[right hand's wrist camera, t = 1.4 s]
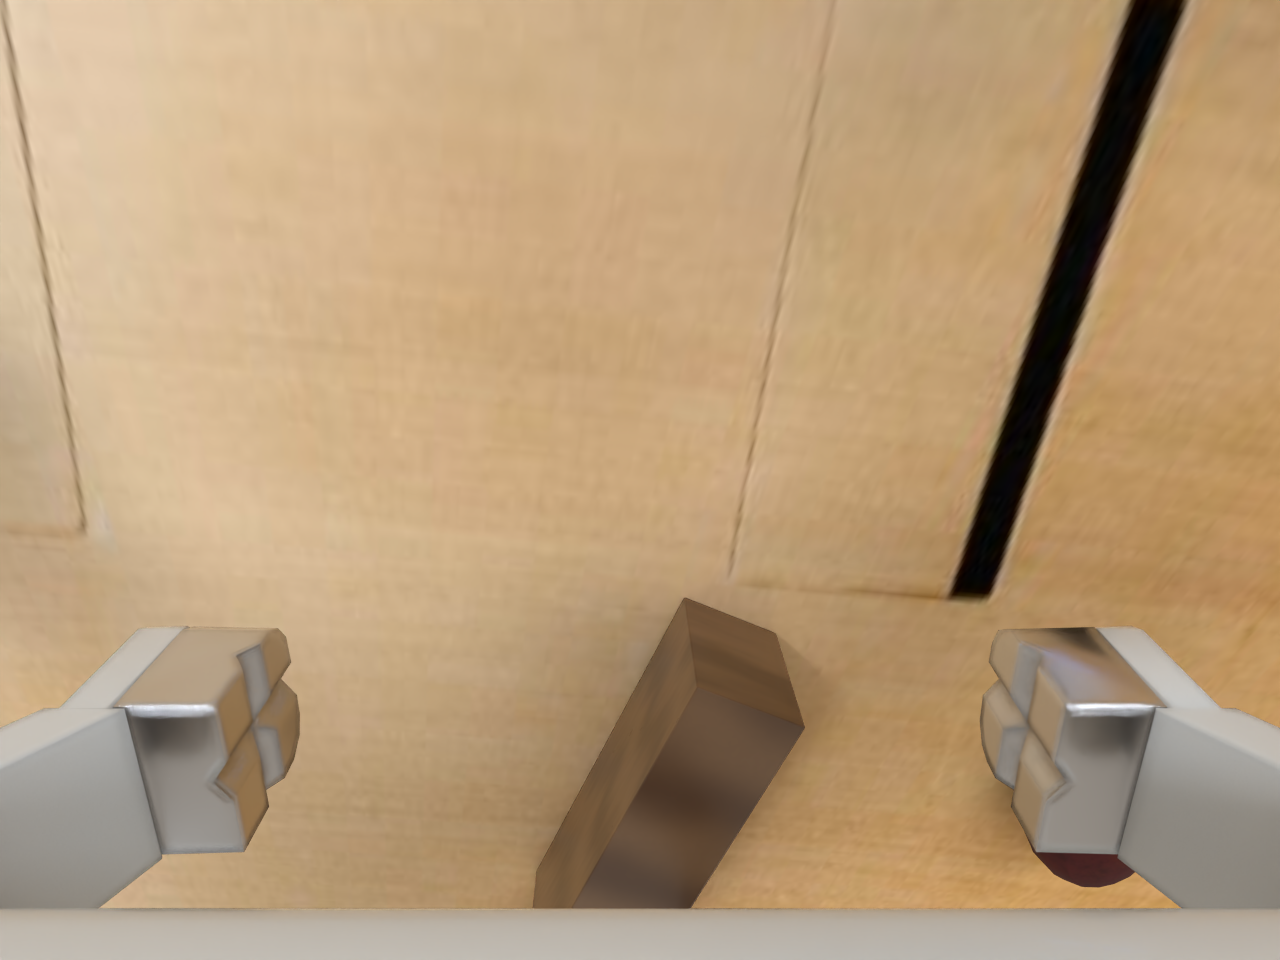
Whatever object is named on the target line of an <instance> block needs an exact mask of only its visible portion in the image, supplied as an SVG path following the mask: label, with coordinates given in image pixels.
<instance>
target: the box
mask: <svg viewBox="0 0 1280 960" xmlns="http://www.w3.org/2000/svg"><path fill="white" fill-rule="evenodd" d="M804 728H805V726H804V723H803V720H802V717H801V713H800V710H799V707H798V704H797V700H796V697H795V694H794V691H793V687H792V684H791V681H790V678H789V675H788V671H787V668H786V665H785V662H784V658H783V655H782V652H781V649H780V645H779V642H778V639H777V636H776V634H775V633H773V632H771V631H768V630H765V629H763V628H760V627H758V626H755V625H753V624H750V623H748V622H745V621H743V620H740V619H738V618H735V617H733V616H730V615H727V614H725V613H722V612H720V611H717V610H715V609H712V608H710V607H707V606H705V605H702V604H700V603H697V602H694V601H692V600H689V599H687V598H684V600H683V601H682V603H681V605H680V607H679V609H678V611H677V612H676V614H675V616H674V618H673V620H672V622H671V624H670V625H669V627H668V629H667V631H666V633H665V635H664V637H663V638H662V640H661V642H660V644H659V646H658V648H657V649H656V651H655V653H654V655H653V657H652V659H651V661H650V662H649V664H648V666H647V668H646V670H645V672H644V674H643V675H642V677H641V679H640V681H639V683H638V685H637V687H636V688H635V690H634V692H633V694H632V696H631V698H630V699H629V701H628V703H627V705H626V707H625V709H624V711H623V712H622V714H621V716H620V718H619V720H618V722H617V724H616V725H615V727H614V729H613V731H612V733H611V735H610V736H609V738H608V740H607V742H606V744H605V746H604V748H603V749H602V751H601V753H600V755H599V757H598V759H597V761H596V762H595V764H594V766H593V768H592V770H591V772H590V773H589V775H588V777H587V779H586V781H585V783H584V785H583V786H582V788H581V790H580V792H579V794H578V796H577V798H576V799H575V801H574V803H573V805H572V807H571V809H570V810H569V812H568V814H567V816H566V818H565V820H564V822H563V823H562V825H561V827H560V829H559V831H558V833H557V835H556V836H555V838H554V840H553V842H552V844H551V846H550V847H549V849H548V851H547V853H546V855H545V857H544V859H543V860H542V862H541V864H540V866H539V868H538V870H537V872H536V881H535V891H534V900H533V909H690V908H691V907H692V905H693V904H694V902H695V901H696V899H697V897H698V896H699V894H700V893H701V891H702V889H703V888H704V886H705V885H706V883H707V882H708V880H709V878H710V877H711V875H712V874H713V872H714V871H715V869H716V867H717V866H718V864H719V863H720V861H721V860H722V858H723V856H724V855H725V853H726V852H727V850H728V848H729V847H730V845H731V844H732V842H733V841H734V839H735V837H736V836H737V834H738V833H739V831H740V830H741V828H742V826H743V825H744V823H745V822H746V820H747V819H748V817H749V815H750V814H751V812H752V811H753V809H754V807H755V806H756V804H757V803H758V801H759V800H760V798H761V796H762V795H763V793H764V792H765V790H766V789H767V787H768V785H769V784H770V782H771V781H772V779H773V778H774V776H775V774H776V773H777V771H778V770H779V768H780V766H781V765H782V763H783V762H784V760H785V759H786V757H787V755H788V754H789V752H790V751H791V749H792V748H793V746H794V744H795V743H796V741H797V740H798V738H799V737H800V735H801V733H802V732H803V730H804Z"/></svg>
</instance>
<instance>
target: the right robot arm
mask: <svg viewBox="0 0 1280 960" xmlns="http://www.w3.org/2000/svg"><path fill="white" fill-rule="evenodd" d="M290 663H291V659H290V654H289V649H288V644H287V640H286V636H285V635H284V634H283V633H282V632H281V631H280V630H279V629H278V628H231V627H191V628H190V627H188V626H164V627H146V628H141V629H138V630H137V631H136V632H135V633H134V634H133V635H132V636H131V637H130V638H129V639H128V640H127V641H126V642H125V643H124V644H123V645H122V646H121V647H120V648H119V649H118V650H117V651H116V652H115V653H114V654H113V655H112V656H111V657H110V658H109V659H108V660H107V661H106V662H105V663H104V664H103V665H102V666H101V667H100V668H99V669H98V670H97V671H96V672H95V673H94V674H93V675H92V676H91V677H90V678H89V679H88V680H87V681H86V682H85V683H84V684H83V685H82V686H81V687H80V688H79V689H78V690H77V691H76V692H75V693H74V694H73V695H72V696H71V697H70V698H69V699H68V700H67V701H66V702H65V703H64V704H63V705H62V706H61V707H60V708H44V709H42V710H40V711H37V712H35V713H33V714H31V715H28V716H26V717H24V718H21V719H19V720H17V721H15V722H12V723H10V724H8V725H6V726H3V727H1V728H0V960H1280V728H1279V727H1277V726H1274V725H1272V724H1270V723H1268V722H1265V721H1263V720H1261V719H1259V718H1256V717H1254V716H1252V715H1249V714H1247V713H1245V712H1243V711H1240V710H1238V709H1236V708H1220V707H1219V706H1218V705H1217V704H1216V703H1215V702H1214V701H1213V700H1212V699H1211V698H1210V697H1209V696H1208V695H1207V694H1206V693H1205V692H1204V691H1203V690H1202V689H1201V688H1200V687H1199V686H1198V685H1197V684H1196V683H1195V682H1194V681H1193V680H1192V679H1191V678H1190V677H1189V676H1188V675H1187V674H1186V673H1185V672H1184V671H1183V670H1182V669H1181V668H1180V667H1179V666H1178V665H1177V664H1176V663H1175V662H1174V661H1173V660H1172V659H1171V658H1170V657H1169V656H1168V655H1167V654H1166V653H1165V652H1164V651H1163V650H1162V649H1161V648H1160V647H1159V646H1158V645H1157V644H1156V643H1155V642H1154V641H1153V640H1152V639H1151V638H1150V637H1149V636H1148V635H1147V634H1146V633H1145V632H1144V631H1143V630H1142V629H1139V628H1136V627H1133V626H1112V627H1083V628H1042V629H1007V630H998V632H997V634H996V636H995V638H994V640H993V643H992V647H991V653H990V658H989V663H990V665H991V666H992V668H993V669H994V671H995V673H996V674H997V676H998V677H999V680H998V681H997V682H996V683H995V684H994V685H993V686H992V687H991V688H990V689H989V690H988V691H987V692H986V693H985V694H984V695H983V700H982V708H981V716H980V728H981V739H982V746H983V750H984V753H985V756H986V760H987V762H988V764H989V766H990V768H991V770H992V772H993V774H994V776H995V778H996V779H998V780H999V781H1001V782H1003V783H1004V784H1006V785H1007V786H1009V787H1010V788H1012V789H1013V790H1014V793H1013V798H1012V804H1011V808H1012V809H1013V811H1014V813H1015V815H1016V817H1017V818H1018V820H1019V822H1020V824H1021V826H1022V828H1023V829H1024V831H1025V833H1026V835H1027V837H1028V838H1029V840H1030V842H1031V844H1032V846H1033V847H1034V849H1035V851H1036V852H1052V853H1088V854H1118V859H1119V860H1121V861H1122V862H1123V863H1125V864H1126V865H1127V866H1128V867H1130V868H1131V869H1132V870H1134V871H1135V872H1136V873H1137V874H1139V875H1140V876H1141V877H1142V878H1144V879H1145V880H1146V881H1148V882H1149V883H1150V884H1151V885H1153V886H1154V887H1155V888H1157V889H1158V890H1159V891H1160V892H1162V893H1163V894H1164V895H1165V896H1167V897H1168V898H1169V899H1171V900H1172V901H1173V902H1174V903H1176V904H1177V905H1178V906H1180V907H1181V908H1175V909H1174V908H1172V909H1169V908H1168V909H237V908H236V909H235V908H233V909H232V908H99V907H101V906H102V905H103V904H105V903H106V902H107V901H108V900H110V899H111V898H112V897H114V896H115V895H116V894H117V893H119V892H120V891H121V890H122V889H124V888H125V887H126V886H128V885H129V884H130V883H131V882H133V881H134V880H135V879H137V878H138V877H139V876H140V875H142V874H143V873H144V872H146V871H147V870H148V869H149V868H151V867H152V866H153V865H154V864H156V863H157V862H158V861H160V860H161V859H162V854H191V853H226V852H244V851H245V849H246V848H247V846H248V844H249V842H250V840H251V839H252V837H253V835H254V833H255V831H256V829H257V828H258V826H259V824H260V822H261V820H262V818H263V817H264V815H265V813H266V811H267V809H268V808H269V804H268V798H267V793H266V790H267V789H268V788H270V787H271V786H273V785H274V784H276V783H277V782H279V781H281V780H282V779H284V778H285V776H286V774H287V772H288V770H289V768H290V766H291V764H292V762H293V760H294V757H295V752H296V748H297V744H298V739H299V735H300V712H299V706H298V700H297V695H296V694H295V693H294V692H293V691H292V690H291V689H290V688H289V687H288V686H287V685H286V684H285V683H284V682H283V681H282V680H281V677H282V676H283V674H284V673H285V671H286V669H287V668H288V666H289V665H290Z"/></svg>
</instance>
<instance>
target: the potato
mask: <svg viewBox="0 0 1280 960" xmlns="http://www.w3.org/2000/svg"><path fill="white" fill-rule="evenodd" d="M1025 834H1026V833H1025ZM1026 836H1027V835H1026ZM1027 838H1028V837H1027ZM1028 841H1029V843H1030V845H1031V848H1032V850H1033V852H1034V853H1035V854H1036V855H1037V857H1038V858H1039V859H1040V860H1041V861H1042V862H1043V863H1044V864H1045V865H1046V866H1047V867H1048V868H1049V869H1050V870H1051V871H1052V873H1053V874H1054V875H1056V876H1058V877H1060V878H1062V879H1064V880H1066V881H1069V882H1071V883H1074V884H1076V885H1079V886H1082V887H1103V886H1107V885H1111V884H1115V883H1117V882H1119V881H1121V880H1123V879H1126V878H1128V877H1129V876H1131V875H1132V874H1133V873H1134V872H1135V871H1134V870H1132V869H1131V868H1130V867H1128V866H1127V865H1126V864H1125V863H1123V862H1122V861H1121V860H1119V859H1118V854H1088V853H1052V852H1036V851H1035V849H1034V847H1033V846H1032V844H1031V842H1030V840H1029V838H1028Z"/></svg>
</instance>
